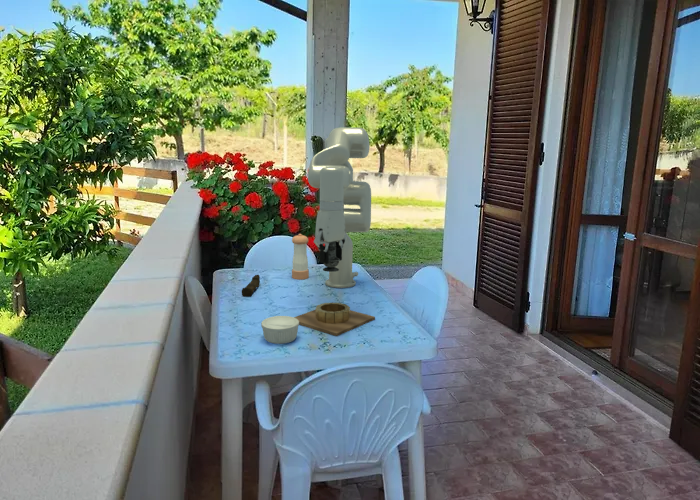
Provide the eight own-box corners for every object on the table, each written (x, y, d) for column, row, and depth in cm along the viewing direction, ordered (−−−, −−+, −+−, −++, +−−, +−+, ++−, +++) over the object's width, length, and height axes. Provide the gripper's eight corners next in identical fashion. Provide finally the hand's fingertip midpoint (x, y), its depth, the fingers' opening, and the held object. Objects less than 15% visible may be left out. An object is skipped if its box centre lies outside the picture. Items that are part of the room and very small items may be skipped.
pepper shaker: (299, 274, 229) (299, 231, 225) (312, 277, 225) (312, 233, 221) (288, 277, 223) (287, 234, 219) (301, 280, 219) (300, 236, 215)
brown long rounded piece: (251, 298, 195) (251, 286, 194) (241, 297, 195) (241, 285, 194) (265, 284, 213) (265, 273, 212) (255, 284, 214) (255, 273, 213)
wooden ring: (330, 310, 178) (330, 300, 177) (356, 317, 172) (356, 307, 171) (309, 318, 170) (309, 308, 169) (334, 326, 163) (335, 315, 162)
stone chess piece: (321, 267, 171) (321, 232, 169) (339, 267, 172) (339, 232, 170) (321, 272, 166) (322, 235, 163) (340, 272, 166) (340, 235, 164)
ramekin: (266, 348, 148) (266, 330, 147) (257, 334, 158) (257, 318, 157) (304, 342, 152) (304, 325, 151) (292, 329, 162) (292, 313, 161)
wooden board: (329, 307, 185) (329, 304, 184) (374, 319, 173) (375, 316, 172) (289, 321, 169) (289, 318, 169) (336, 336, 157) (336, 333, 157)
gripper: (339, 203, 174) (339, 255, 177) (304, 207, 160) (304, 264, 164) (357, 205, 169) (356, 259, 173) (322, 209, 156) (321, 267, 159)
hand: (330, 260), depth 168 cm, fingers closed on stone chess piece, 5 cm apart
